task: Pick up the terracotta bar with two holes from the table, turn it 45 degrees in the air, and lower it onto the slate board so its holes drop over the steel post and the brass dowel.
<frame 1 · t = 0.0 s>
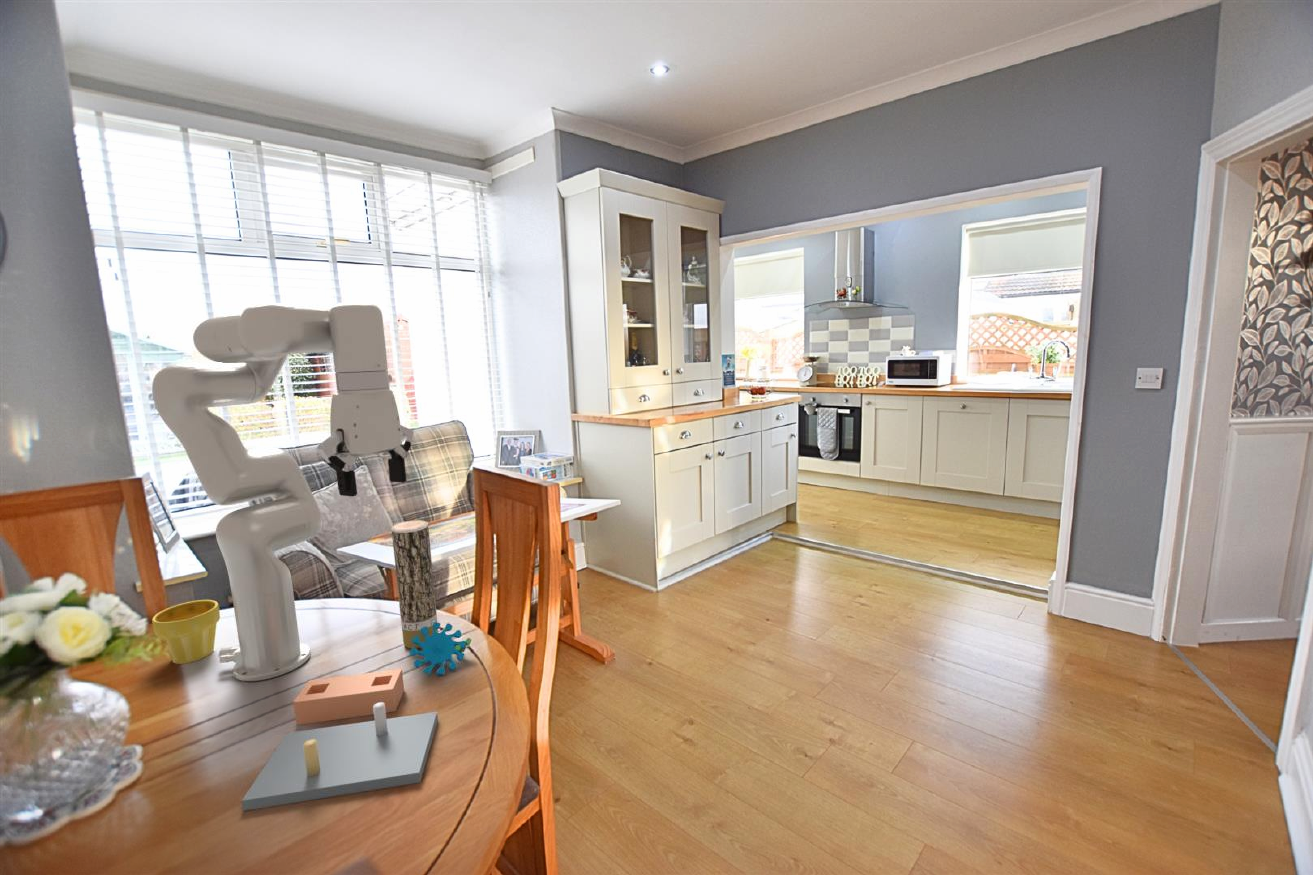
hand: (374, 488, 94), 37 cm above the table, tool pointing down, fingers open, 9 cm apart
slate board: (350, 760, 85), on the table
bark log: (421, 642, 120), on the table
plant pot: (193, 656, 117), on the table
blue virus model: (443, 666, 110), on the table
holed bar: (352, 706, 98), on the table
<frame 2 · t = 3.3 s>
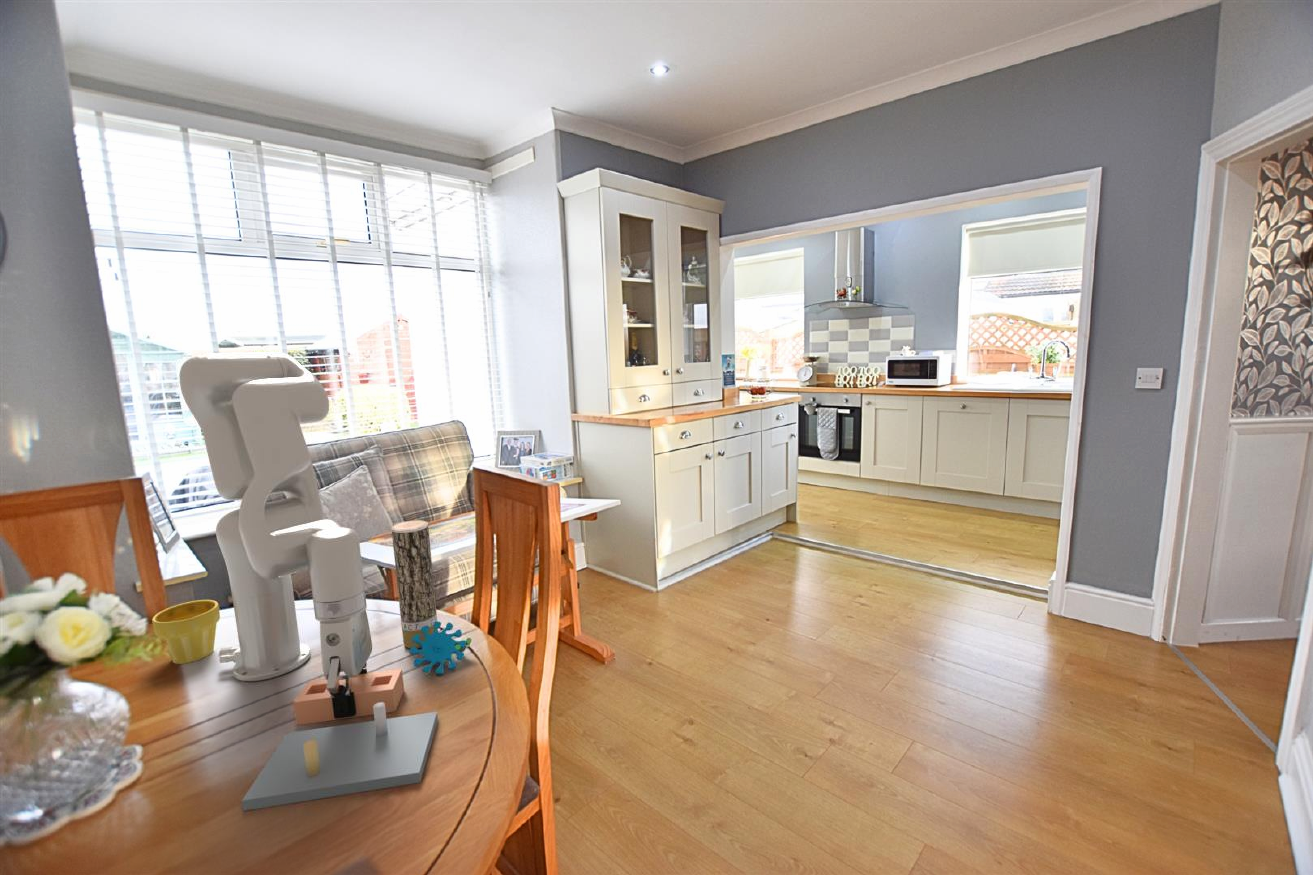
hand: (352, 702, 98), 1 cm above the table, tool pointing down, fingers closed on holed bar, 6 cm apart
holed bar: (352, 706, 98), on the table, touching gripper
everything else where it was.
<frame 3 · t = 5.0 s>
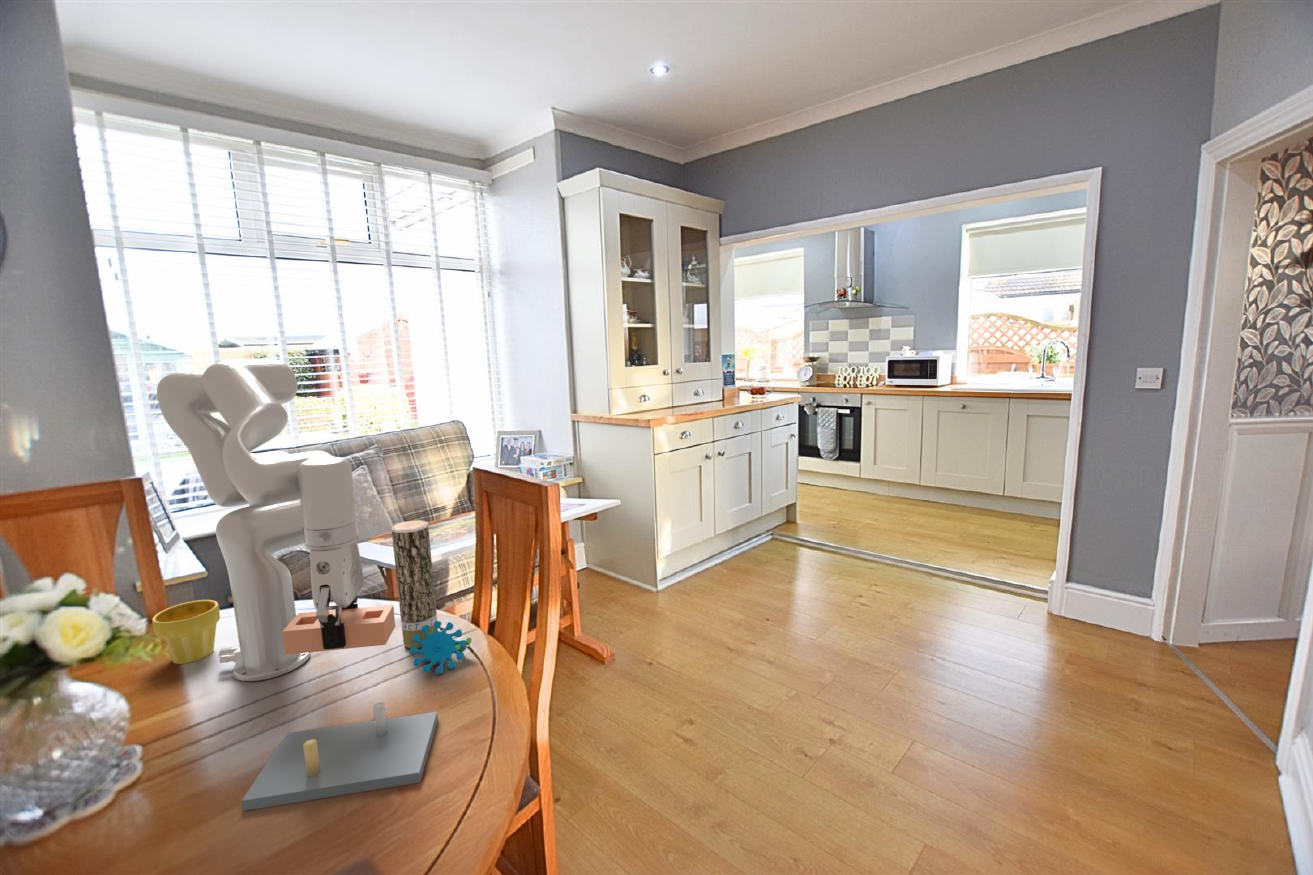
hand: (342, 635, 97), 13 cm above the table, tool pointing down, fingers closed on holed bar, 6 cm apart
holed bar: (342, 639, 97), point 12 cm above the table, touching gripper
everything else where it was.
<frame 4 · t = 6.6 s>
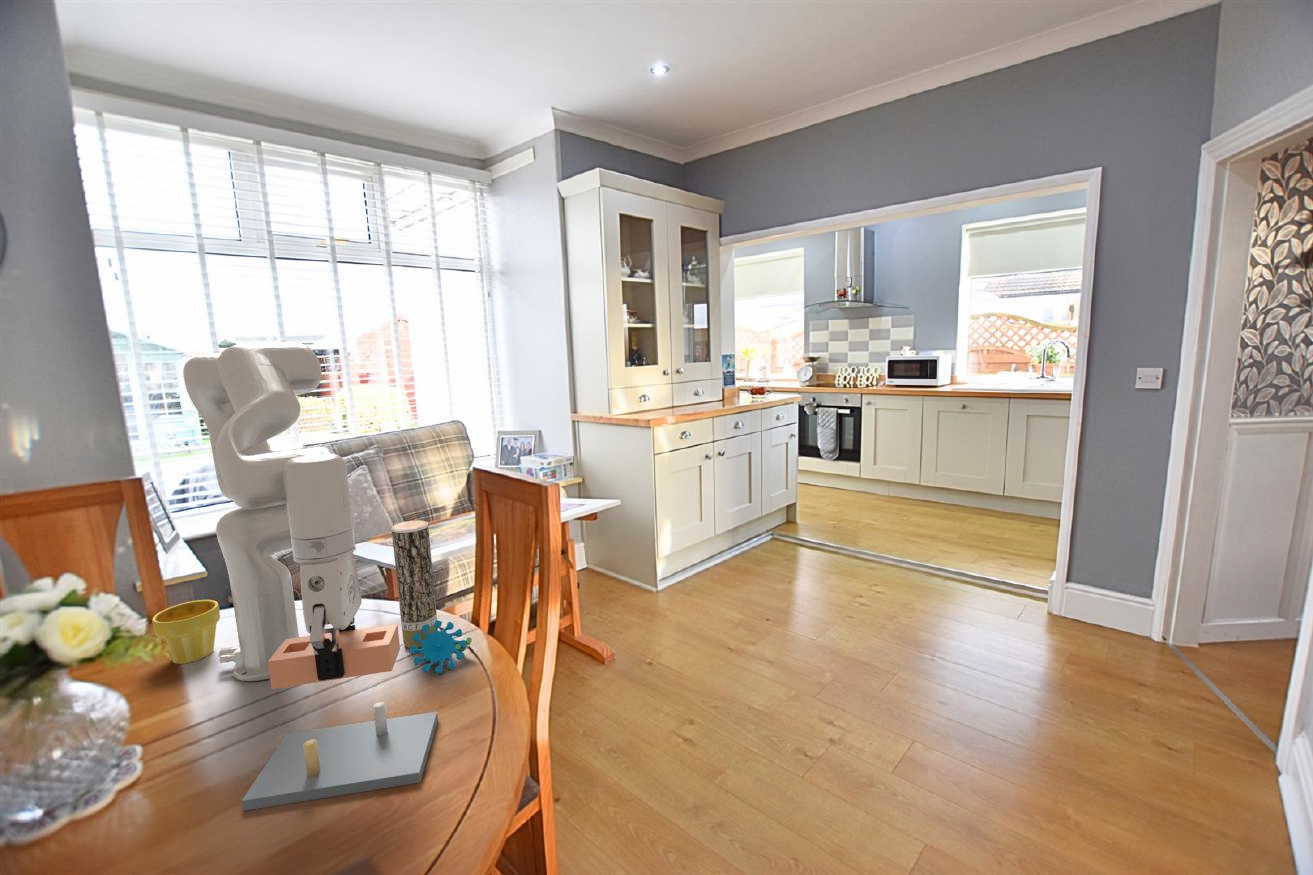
hand: (338, 663, 82), 15 cm above the table, tool pointing down, fingers closed on holed bar, 6 cm apart
holed bar: (339, 667, 83), point 15 cm above the table, touching gripper
everything else where it was.
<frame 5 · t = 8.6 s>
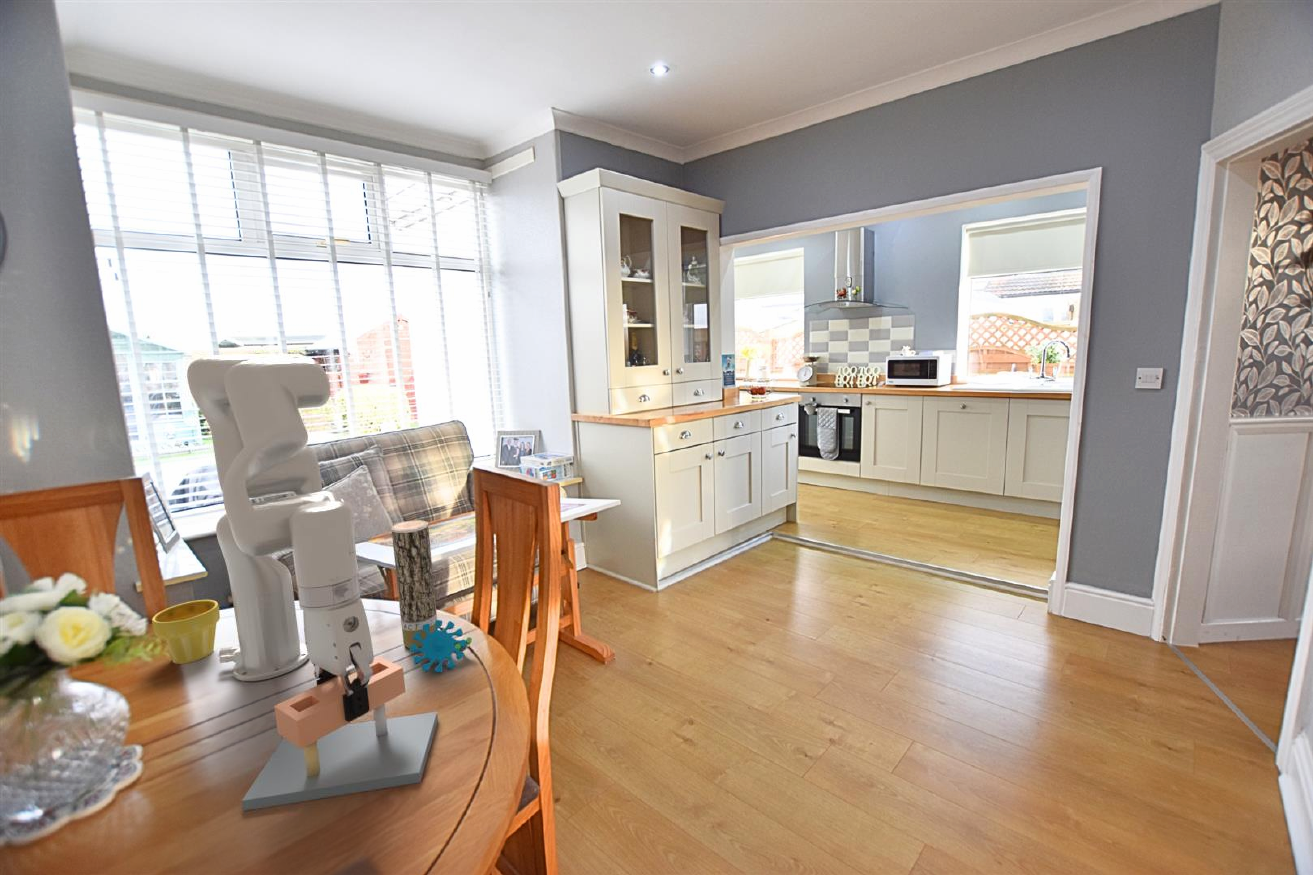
hand: (344, 707, 83), 9 cm above the table, tool pointing down, fingers closed on holed bar, 6 cm apart
holed bar: (345, 711, 84), point 8 cm above the table, touching gripper
everything else where it was.
when the fingers open (4 cm above the table, at t = 10.1 s): holed bar drops 1 cm, resting on slate board.
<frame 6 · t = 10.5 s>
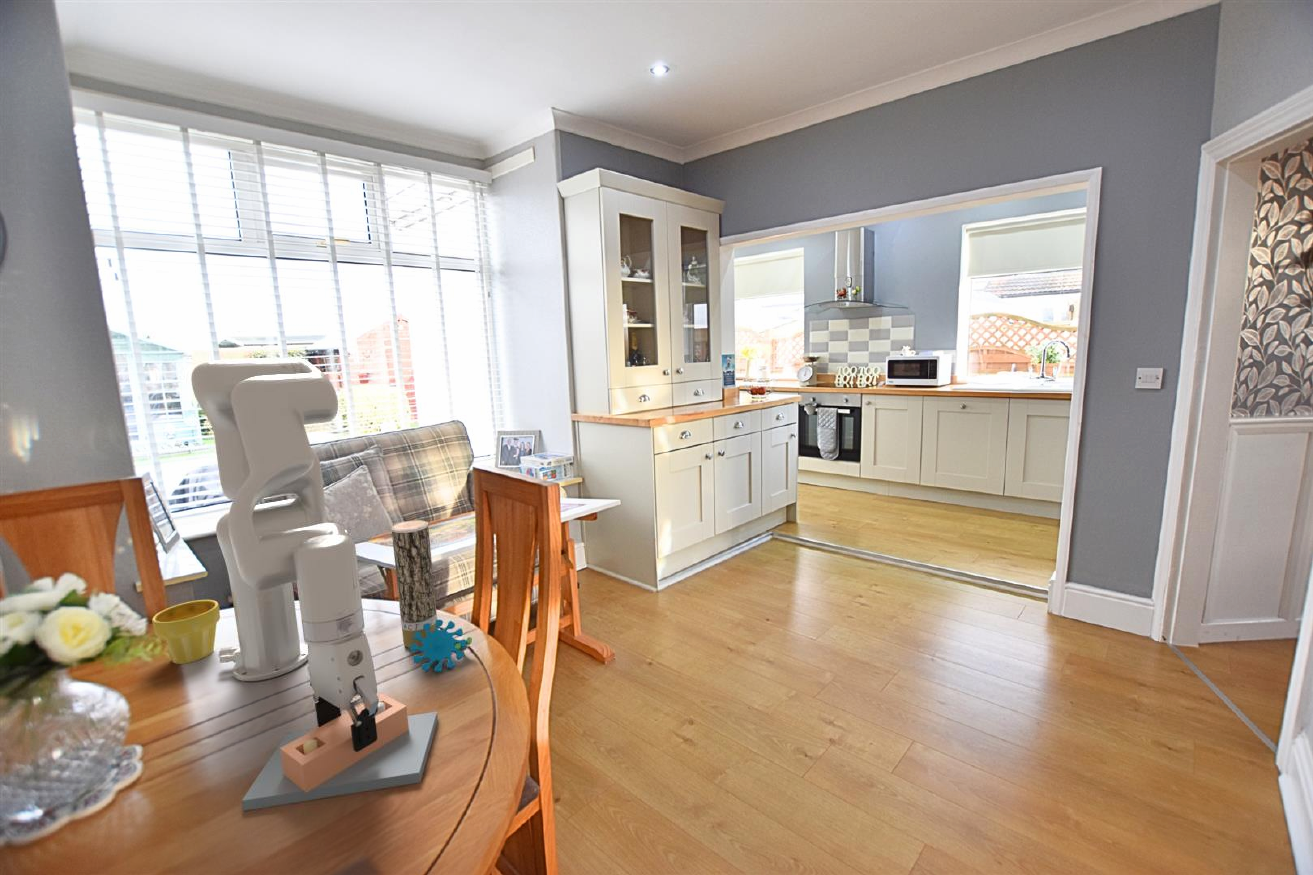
hand: (347, 733, 84), 4 cm above the table, tool pointing down, fingers open, 9 cm apart
holed bar: (349, 750, 85), point 1 cm above the table, touching slate board
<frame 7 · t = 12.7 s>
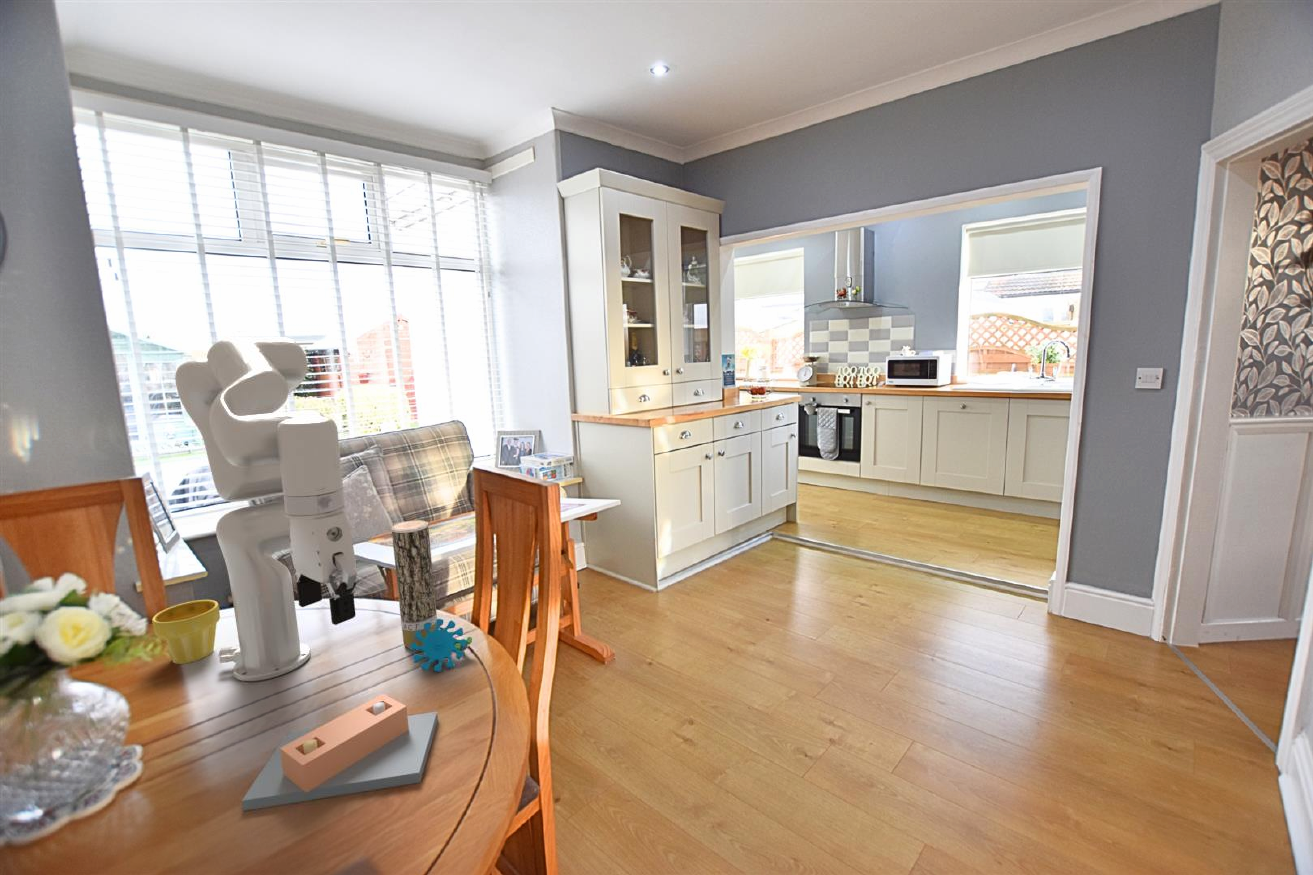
hand: (326, 611, 87), 21 cm above the table, tool pointing down, fingers open, 9 cm apart
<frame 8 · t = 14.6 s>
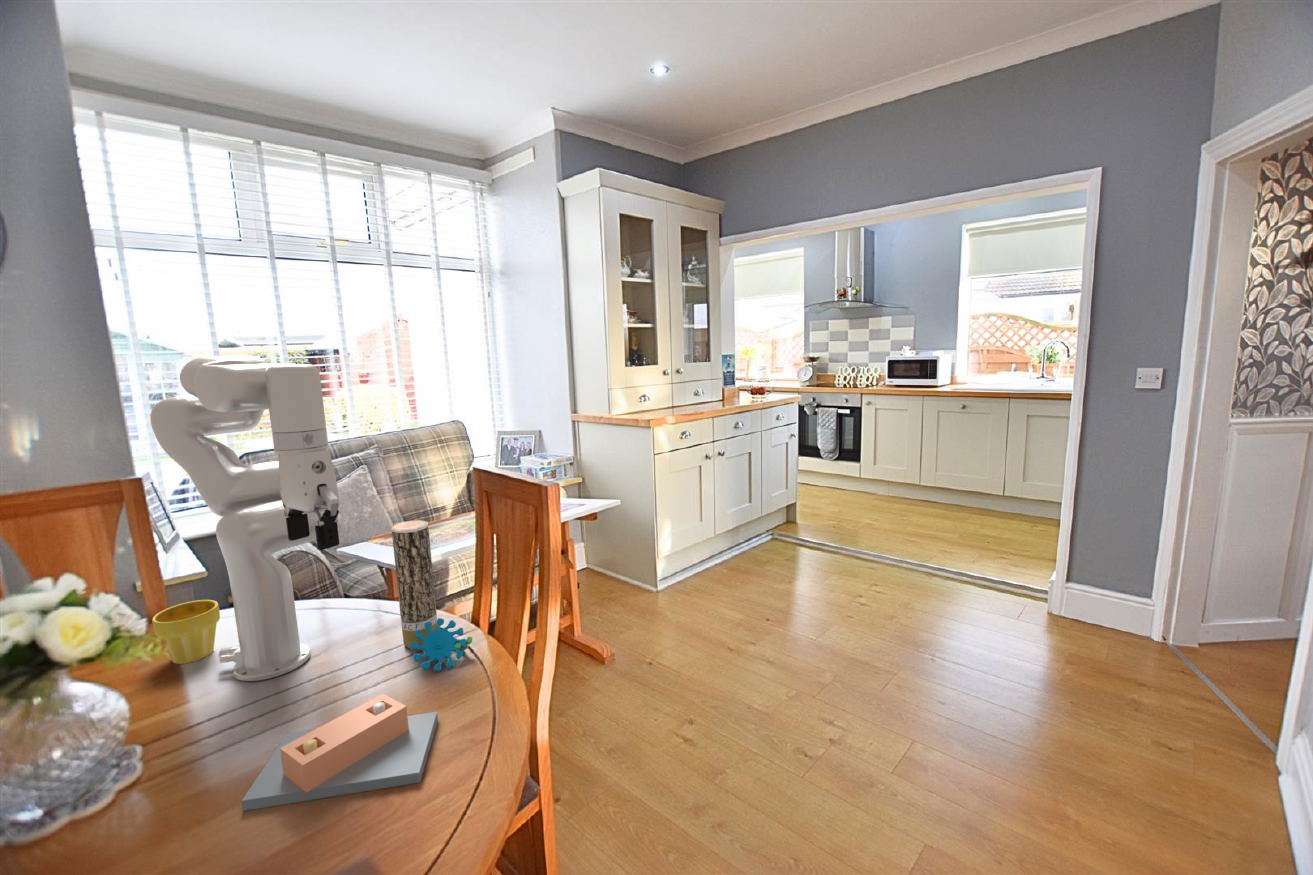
hand: (313, 542, 96), 28 cm above the table, tool pointing down, fingers open, 9 cm apart
at the end: holed bar 0.1 cm off-centre on the slate board, point 1.5 cm above the slate board's base; holed bar tilted 0°; the gripper is holding nothing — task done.
